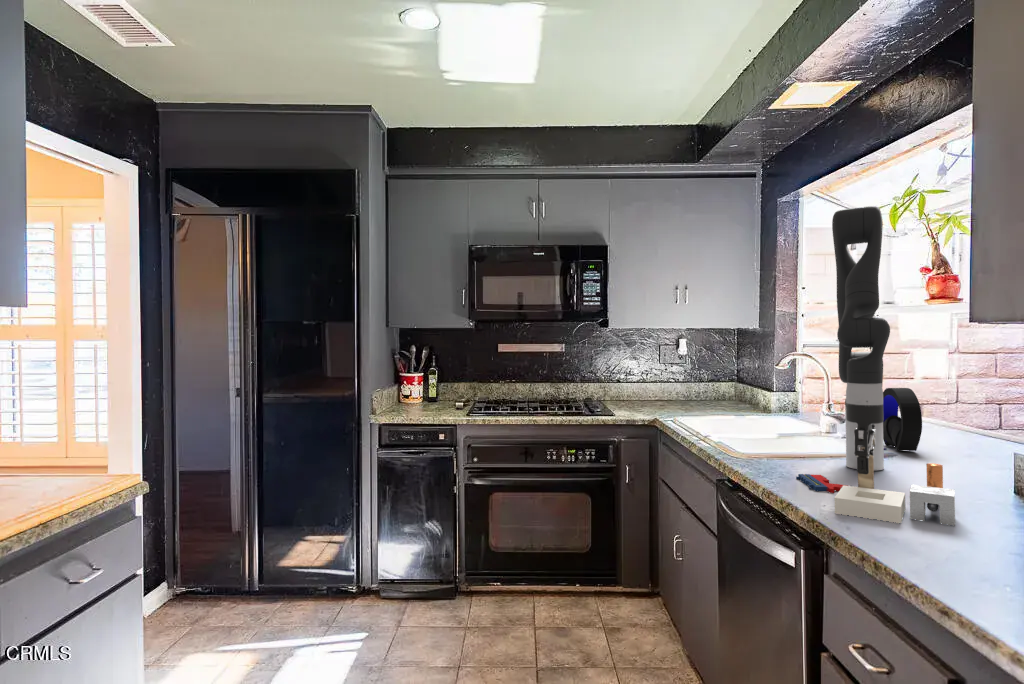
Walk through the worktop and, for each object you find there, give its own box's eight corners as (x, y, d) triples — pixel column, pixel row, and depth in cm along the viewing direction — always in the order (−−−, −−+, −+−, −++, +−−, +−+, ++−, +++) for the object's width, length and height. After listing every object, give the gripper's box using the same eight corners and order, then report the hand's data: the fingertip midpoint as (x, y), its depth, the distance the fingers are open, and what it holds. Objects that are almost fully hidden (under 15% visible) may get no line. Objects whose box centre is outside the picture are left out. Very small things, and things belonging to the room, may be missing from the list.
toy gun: (834, 480, 154) (794, 479, 155) (834, 474, 154) (794, 473, 155) (857, 495, 139) (813, 494, 141) (857, 489, 139) (813, 487, 141)
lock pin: (943, 498, 132) (942, 464, 132) (941, 516, 120) (941, 478, 120) (927, 496, 134) (926, 462, 134) (924, 514, 122) (923, 477, 122)
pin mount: (954, 518, 120) (954, 489, 120) (954, 526, 115) (954, 496, 115) (911, 512, 124) (911, 484, 124) (910, 519, 120) (909, 491, 120)
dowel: (859, 494, 138) (858, 453, 138) (874, 497, 136) (874, 455, 136) (857, 498, 135) (856, 456, 135) (873, 500, 133) (872, 457, 133)
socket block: (843, 500, 134) (843, 485, 134) (905, 508, 127) (905, 492, 127) (834, 513, 125) (834, 497, 125) (901, 523, 117) (900, 506, 117)
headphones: (925, 455, 177) (924, 391, 176) (901, 455, 178) (900, 391, 178) (898, 443, 195) (898, 385, 194) (877, 443, 196) (876, 385, 196)
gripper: (879, 405, 127) (881, 478, 127) (886, 400, 138) (887, 466, 139) (841, 404, 132) (842, 474, 132) (850, 398, 143) (851, 463, 143)
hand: (865, 470), depth 135 cm, fingers open, 8 cm apart
